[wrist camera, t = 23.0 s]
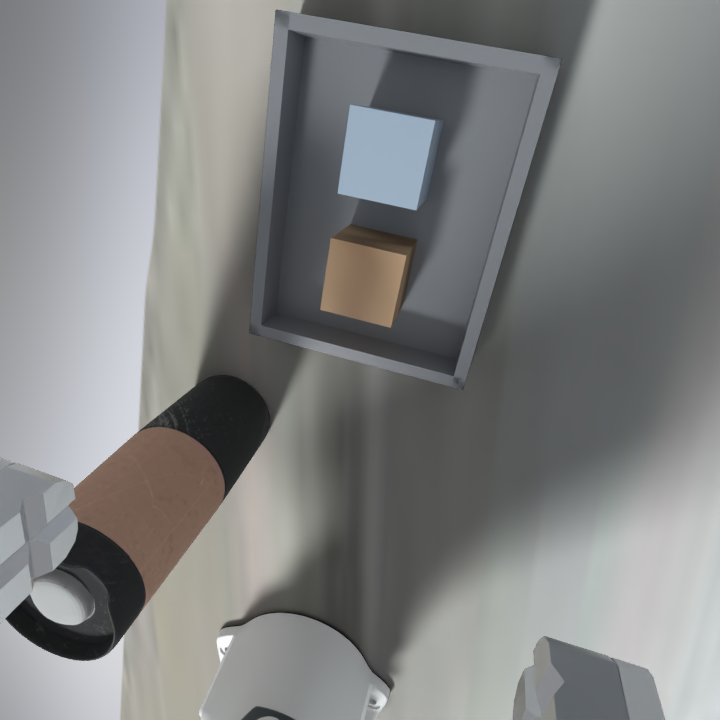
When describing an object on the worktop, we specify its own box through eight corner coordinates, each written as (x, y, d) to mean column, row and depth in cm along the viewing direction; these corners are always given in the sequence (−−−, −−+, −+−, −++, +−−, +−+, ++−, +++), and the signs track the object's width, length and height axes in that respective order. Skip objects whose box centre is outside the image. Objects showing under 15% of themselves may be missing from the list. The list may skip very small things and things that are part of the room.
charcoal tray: (465, 367, 37) (462, 389, 34) (268, 316, 39) (249, 333, 36) (555, 65, 29) (562, 58, 26) (298, 20, 31) (275, 9, 28)
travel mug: (190, 440, 46) (-1, 638, 29) (187, 363, 43) (-32, 533, 25) (271, 460, 45) (124, 680, 27) (275, 382, 42) (109, 576, 24)
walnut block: (417, 239, 34) (406, 255, 30) (403, 304, 36) (390, 327, 32) (350, 224, 34) (330, 237, 30) (340, 288, 36) (320, 309, 32)
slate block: (426, 199, 32) (416, 210, 28) (357, 184, 33) (337, 193, 29) (443, 120, 30) (435, 120, 26) (369, 106, 31) (350, 104, 27)
